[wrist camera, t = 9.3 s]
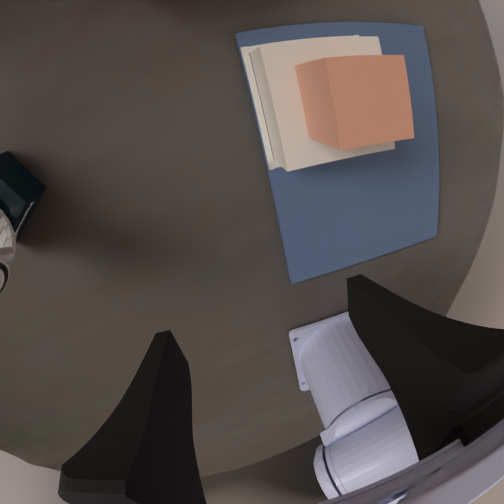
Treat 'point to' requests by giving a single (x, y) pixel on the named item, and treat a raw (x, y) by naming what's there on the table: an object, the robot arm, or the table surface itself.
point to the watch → (14, 207)
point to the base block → (289, 99)
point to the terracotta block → (356, 100)
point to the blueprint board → (355, 166)
